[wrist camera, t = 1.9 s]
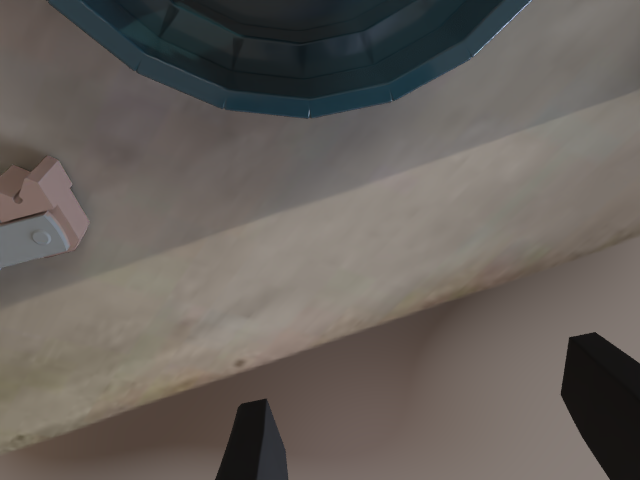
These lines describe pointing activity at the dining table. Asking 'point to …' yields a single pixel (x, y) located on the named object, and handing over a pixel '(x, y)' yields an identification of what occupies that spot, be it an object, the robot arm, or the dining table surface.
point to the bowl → (292, 47)
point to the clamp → (38, 213)
